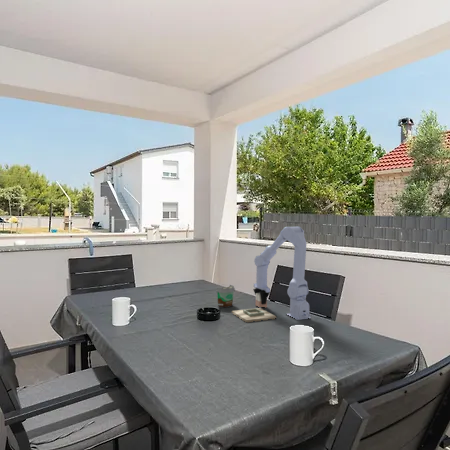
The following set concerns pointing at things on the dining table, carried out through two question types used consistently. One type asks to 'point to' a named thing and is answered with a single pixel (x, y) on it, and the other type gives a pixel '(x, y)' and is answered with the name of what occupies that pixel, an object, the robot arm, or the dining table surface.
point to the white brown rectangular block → (259, 301)
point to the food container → (225, 296)
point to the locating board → (253, 314)
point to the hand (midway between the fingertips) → (261, 303)
